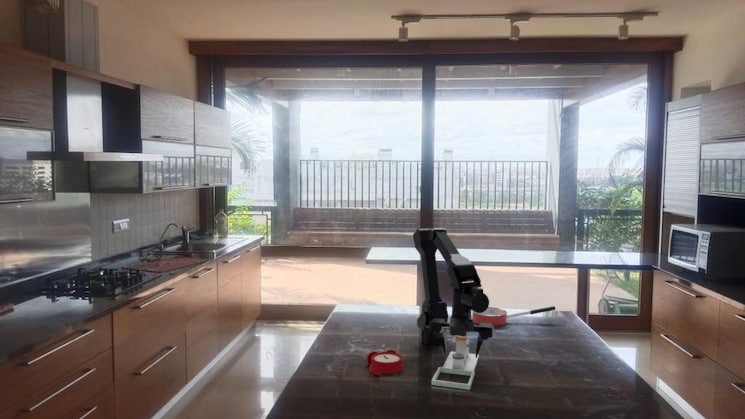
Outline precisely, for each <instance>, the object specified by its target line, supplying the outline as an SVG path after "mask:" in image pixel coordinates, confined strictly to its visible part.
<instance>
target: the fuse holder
mask: <svg viewBox="0 0 745 419" xmlns="http://www.w3.org/2000/svg"><path fill="white" fill-rule="evenodd" d="M479 356H480V354H479V353H478V356H477V358H476V353H470V343H469V342H468V341H467V351H466V364H464V355H463V354H460V353H456V351H450V352H449V354H448V356H447V358H446V359H445V362H444V364H443V366H442V367H444V368H453V369H461V370H469V371H475V369H476V367H477V362H478V359H479Z"/></svg>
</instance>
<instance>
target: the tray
mask: <svg viewBox="0 0 745 419" xmlns="http://www.w3.org/2000/svg"><path fill="white" fill-rule="evenodd" d="M441 373H445V374H451V375H452V374H454V375H462V376H467V377H468V376H469V377H470V378H469V380H468V382H467V383H461V382H456V381H455V382H453V381H446V380H439V379H438V377H439V376H440V374H441ZM474 378H475V370H474V371H469V370H461V369H453V368H444V367H443V366H438V368H437V369H436V371H435V373H434V375H433V377H432V379H431V389H433V390H441V389H442V391H450V392H457V393H462V394H463V393H464V394H470V393H471V391H470V390H471V388H472V384H473V381H474Z"/></svg>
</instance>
